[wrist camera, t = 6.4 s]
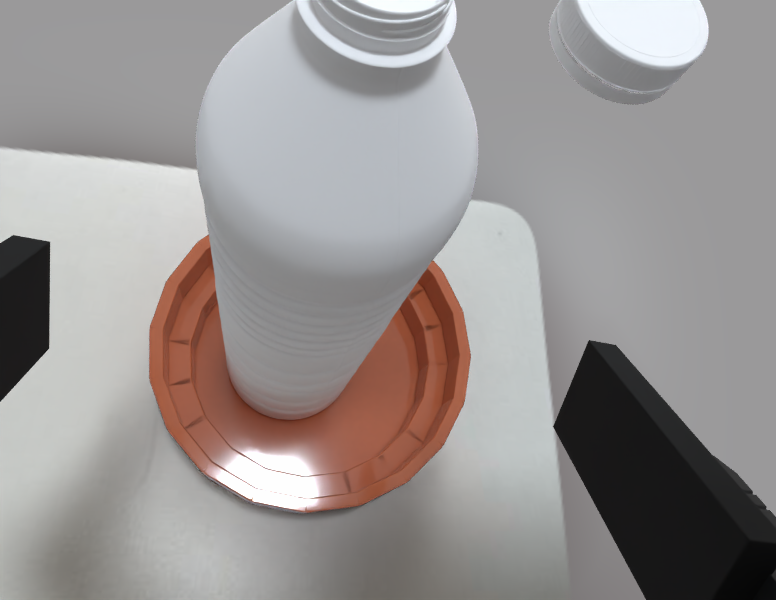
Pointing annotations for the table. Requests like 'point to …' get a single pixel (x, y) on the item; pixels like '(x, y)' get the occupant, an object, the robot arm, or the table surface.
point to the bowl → (325, 429)
